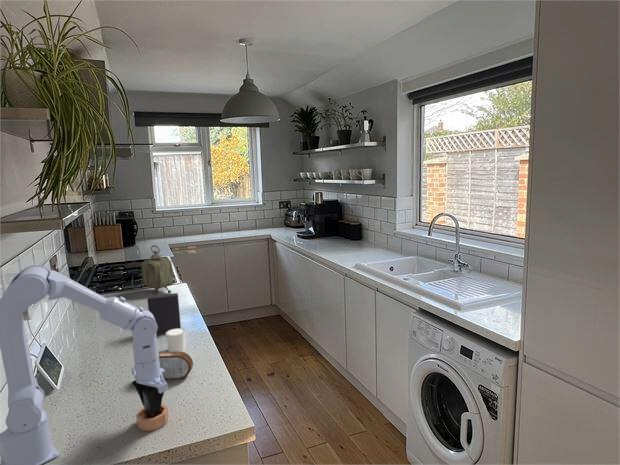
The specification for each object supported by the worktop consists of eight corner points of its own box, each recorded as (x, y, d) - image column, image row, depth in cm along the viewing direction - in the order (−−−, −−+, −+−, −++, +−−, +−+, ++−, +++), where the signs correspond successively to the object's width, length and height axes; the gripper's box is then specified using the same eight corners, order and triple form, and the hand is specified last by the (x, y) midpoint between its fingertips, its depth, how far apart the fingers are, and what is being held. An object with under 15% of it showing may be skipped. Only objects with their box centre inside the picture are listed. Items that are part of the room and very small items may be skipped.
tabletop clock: (174, 293, 209) (170, 245, 204) (159, 298, 202) (154, 248, 197) (158, 288, 217) (154, 242, 213) (142, 293, 210) (137, 245, 206)
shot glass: (187, 344, 149) (186, 326, 148) (186, 353, 142) (184, 334, 141) (168, 347, 148) (166, 328, 146) (165, 355, 141) (164, 336, 140)
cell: (149, 422, 102) (146, 393, 101) (143, 417, 104) (139, 388, 103) (162, 416, 105) (159, 387, 103) (155, 410, 107) (153, 382, 106)
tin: (194, 374, 128) (192, 349, 127) (191, 379, 125) (189, 354, 123) (145, 376, 128) (143, 351, 126) (142, 382, 125) (139, 356, 123)
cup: (146, 435, 100) (145, 424, 99) (133, 423, 105) (132, 412, 104) (173, 420, 105) (172, 410, 105) (159, 410, 110) (158, 400, 109)
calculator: (181, 327, 164) (178, 292, 162) (180, 332, 160) (177, 295, 158) (152, 331, 162) (148, 295, 159) (150, 335, 158) (147, 298, 155)
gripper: (176, 361, 100) (181, 411, 102) (147, 344, 109) (152, 391, 112) (149, 372, 95) (154, 425, 97) (121, 354, 104) (127, 402, 107)
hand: (151, 408), depth 104 cm, fingers closed on cell, 3 cm apart
